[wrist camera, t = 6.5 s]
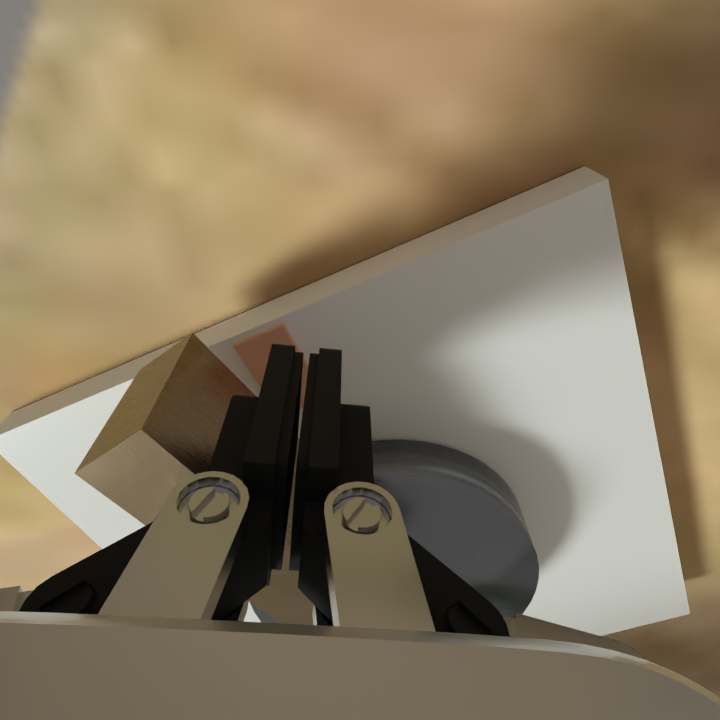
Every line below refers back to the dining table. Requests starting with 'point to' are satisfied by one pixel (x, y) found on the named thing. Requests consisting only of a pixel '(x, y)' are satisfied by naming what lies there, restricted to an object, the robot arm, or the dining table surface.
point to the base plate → (461, 391)
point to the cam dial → (390, 466)
